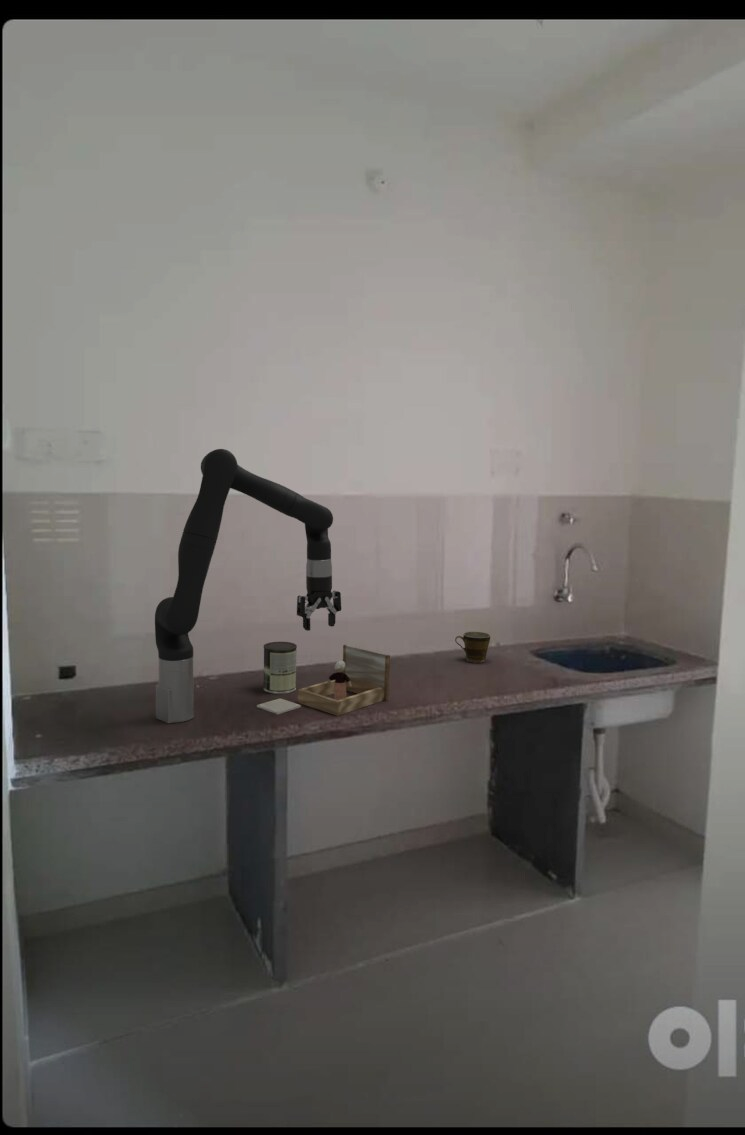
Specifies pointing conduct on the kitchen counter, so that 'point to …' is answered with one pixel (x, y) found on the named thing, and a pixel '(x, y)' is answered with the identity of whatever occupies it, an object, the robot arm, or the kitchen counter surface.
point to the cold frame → (353, 683)
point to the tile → (278, 706)
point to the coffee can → (280, 667)
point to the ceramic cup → (475, 646)
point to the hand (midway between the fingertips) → (319, 628)
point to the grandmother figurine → (339, 681)
